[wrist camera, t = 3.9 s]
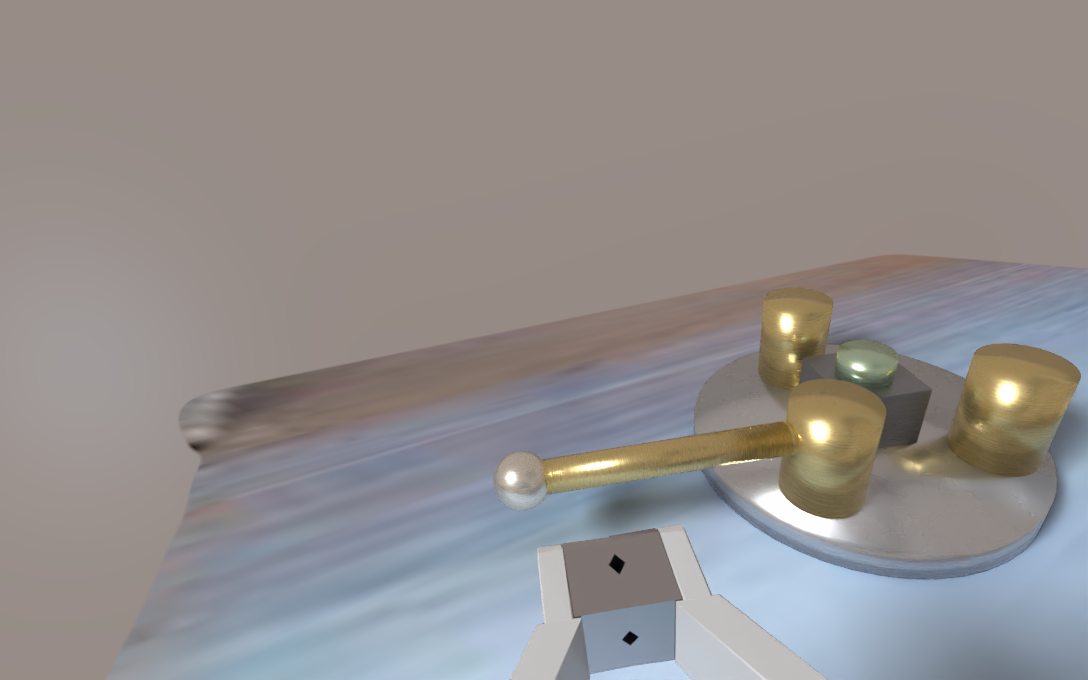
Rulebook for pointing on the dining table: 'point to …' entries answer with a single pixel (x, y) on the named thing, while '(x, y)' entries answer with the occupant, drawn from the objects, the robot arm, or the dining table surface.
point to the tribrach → (900, 446)
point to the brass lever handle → (734, 454)
